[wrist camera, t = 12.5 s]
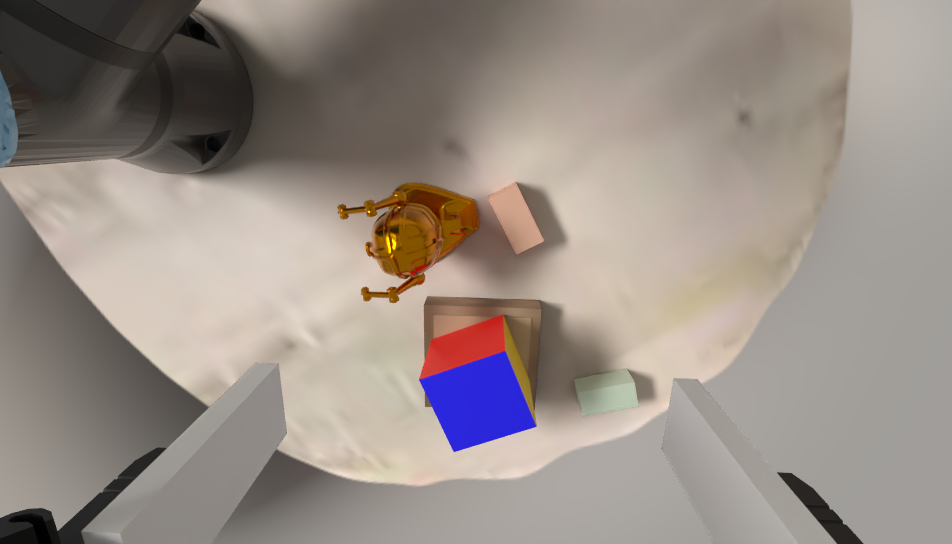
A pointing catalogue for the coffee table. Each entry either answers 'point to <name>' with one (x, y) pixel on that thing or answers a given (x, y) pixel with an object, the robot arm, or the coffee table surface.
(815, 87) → the coffee table surface
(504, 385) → the cube
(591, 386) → the sage brick
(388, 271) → the figurine
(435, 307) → the walnut slab
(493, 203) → the terracotta brick
